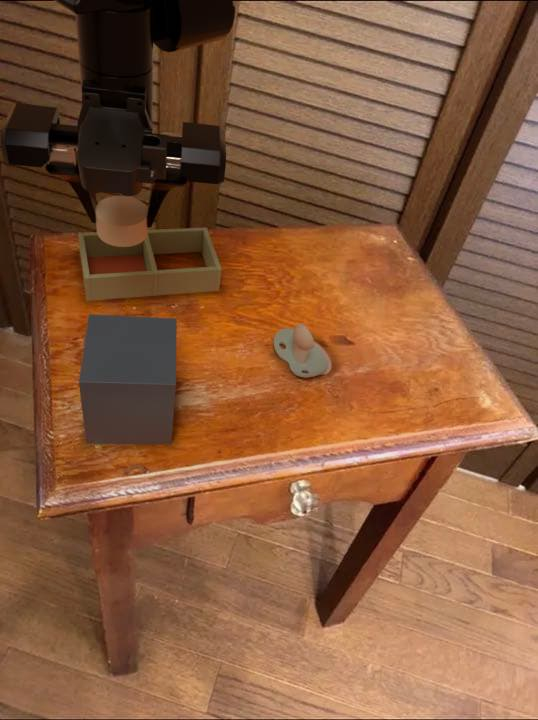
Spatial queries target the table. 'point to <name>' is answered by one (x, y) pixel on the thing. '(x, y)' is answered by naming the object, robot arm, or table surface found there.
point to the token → (121, 221)
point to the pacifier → (302, 352)
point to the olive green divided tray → (147, 265)
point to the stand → (128, 379)
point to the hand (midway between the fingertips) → (122, 222)
